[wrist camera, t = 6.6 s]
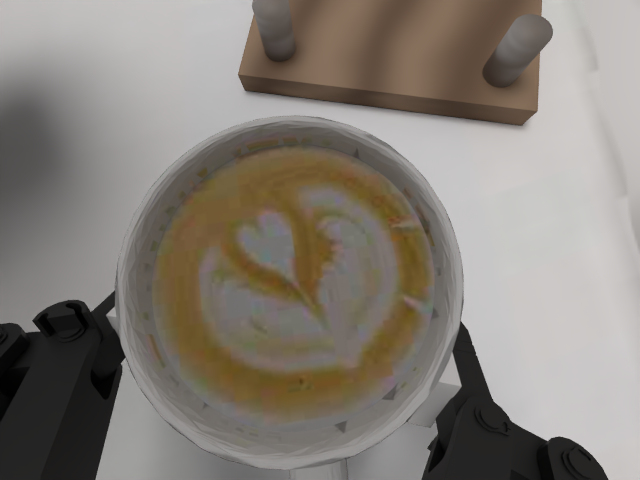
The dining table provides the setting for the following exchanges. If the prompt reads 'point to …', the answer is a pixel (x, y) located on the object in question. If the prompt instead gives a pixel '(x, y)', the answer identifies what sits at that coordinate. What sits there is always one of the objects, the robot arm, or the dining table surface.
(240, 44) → the dining table surface
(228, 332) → the coffee mug
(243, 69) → the standoff board
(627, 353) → the dining table surface
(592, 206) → the dining table surface
